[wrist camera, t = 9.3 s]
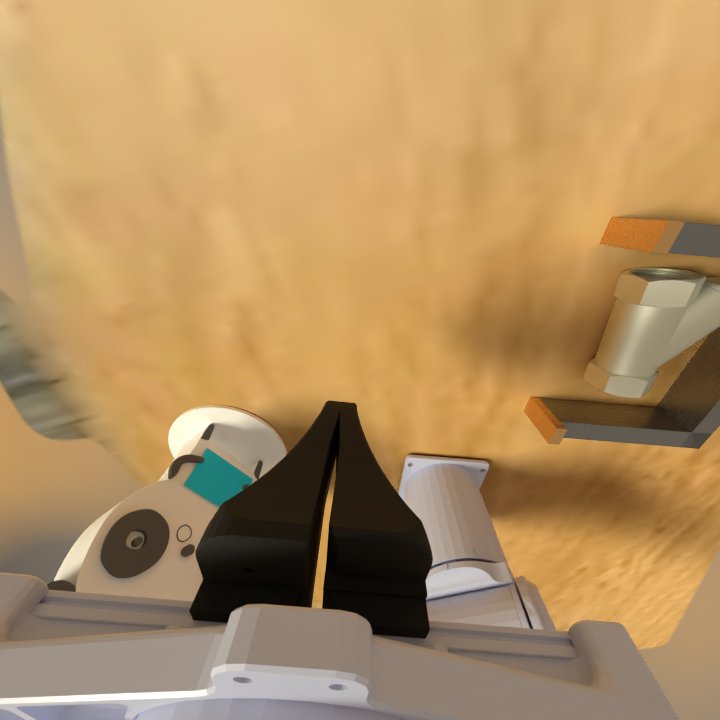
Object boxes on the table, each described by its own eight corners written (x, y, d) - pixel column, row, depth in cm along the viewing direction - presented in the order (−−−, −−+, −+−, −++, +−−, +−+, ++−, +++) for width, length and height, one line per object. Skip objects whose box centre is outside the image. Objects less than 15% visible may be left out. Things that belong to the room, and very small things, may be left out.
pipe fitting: (708, 260, 19) (608, 269, 19) (789, 272, 15) (667, 283, 15) (657, 365, 23) (573, 372, 23) (713, 393, 19) (614, 402, 19)
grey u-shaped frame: (663, 422, 25) (709, 456, 21) (524, 411, 24) (548, 443, 21) (808, 234, 17) (912, 241, 14) (611, 217, 17) (669, 220, 14)
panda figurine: (315, 463, 28) (268, 684, 15) (242, 505, 32) (153, 713, 19) (219, 383, 24) (39, 596, 11) (147, 442, 28) (-52, 655, 15)
